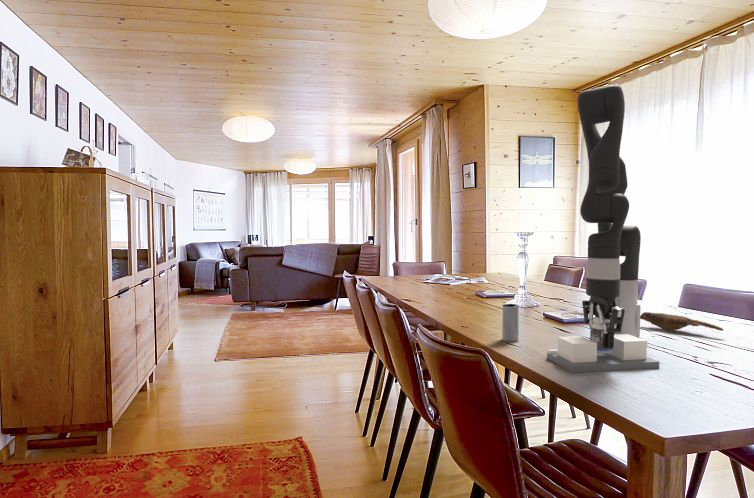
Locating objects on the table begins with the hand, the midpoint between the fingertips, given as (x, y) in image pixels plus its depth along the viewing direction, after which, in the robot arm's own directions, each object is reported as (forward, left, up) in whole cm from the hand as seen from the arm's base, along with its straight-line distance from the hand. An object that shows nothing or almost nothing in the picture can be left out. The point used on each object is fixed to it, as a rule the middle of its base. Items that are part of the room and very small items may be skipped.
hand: (601, 345), depth 120 cm
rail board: (0, 0, -4) cm, 4 cm away
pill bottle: (0, 0, -2) cm, 2 cm away
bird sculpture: (-44, -28, -5) cm, 52 cm away
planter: (+12, -26, -5) cm, 29 cm away
